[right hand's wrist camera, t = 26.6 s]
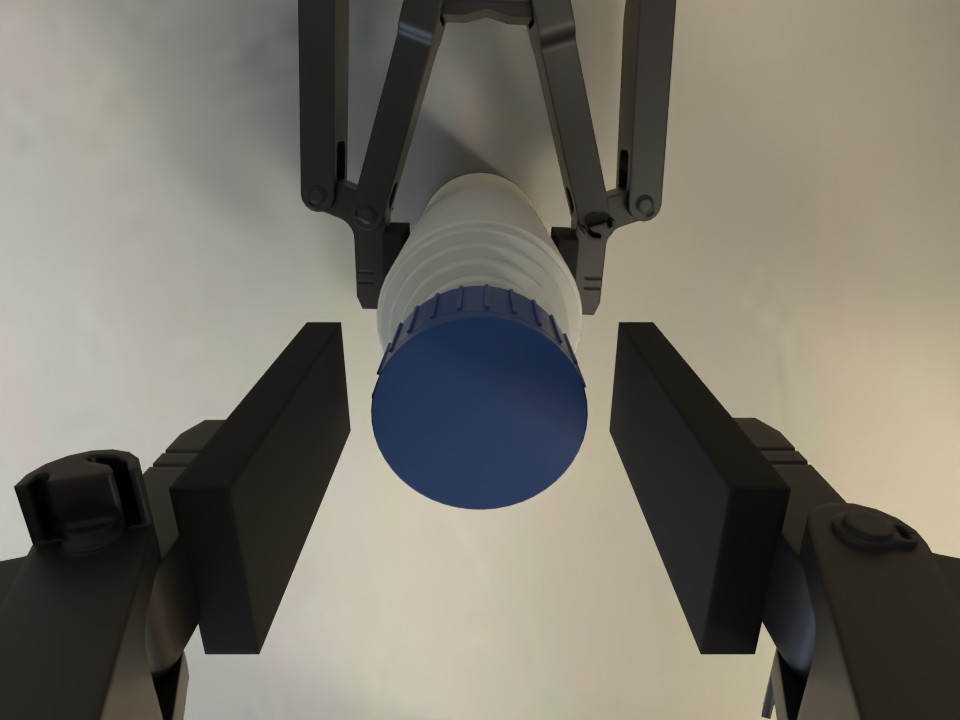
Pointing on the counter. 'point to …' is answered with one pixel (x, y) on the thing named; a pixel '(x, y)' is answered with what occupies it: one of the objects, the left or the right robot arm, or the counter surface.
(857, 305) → the counter surface
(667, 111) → the left robot arm
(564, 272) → the bottle
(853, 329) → the counter surface
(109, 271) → the counter surface
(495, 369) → the cap
